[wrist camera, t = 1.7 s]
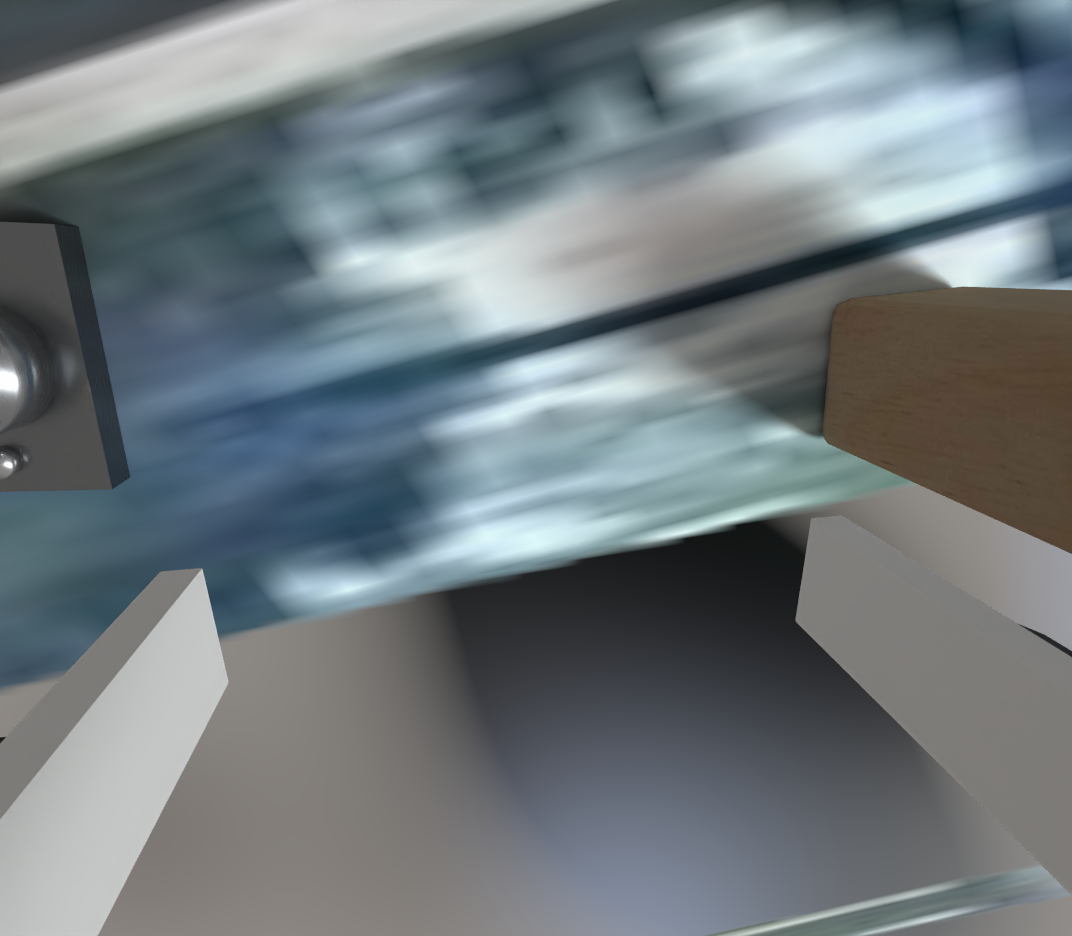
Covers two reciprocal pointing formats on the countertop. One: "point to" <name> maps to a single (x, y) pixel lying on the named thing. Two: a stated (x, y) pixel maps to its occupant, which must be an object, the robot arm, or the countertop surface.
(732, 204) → the countertop surface
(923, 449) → the wooden block
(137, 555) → the countertop surface
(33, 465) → the shaft stand
